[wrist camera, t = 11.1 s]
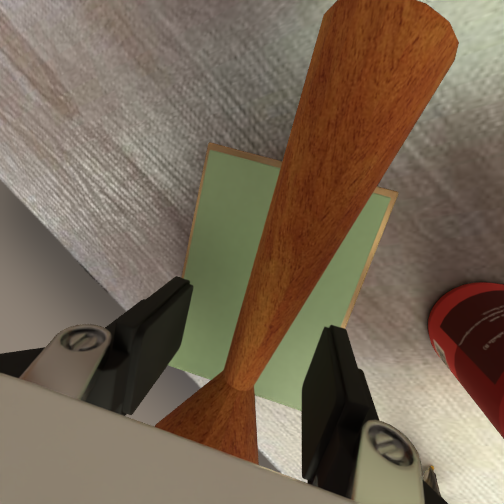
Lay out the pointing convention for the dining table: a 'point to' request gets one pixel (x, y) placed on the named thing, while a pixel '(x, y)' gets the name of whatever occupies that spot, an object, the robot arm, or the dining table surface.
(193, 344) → the sage block
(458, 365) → the canned food
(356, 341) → the dining table surface
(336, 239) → the purple wooden maraca
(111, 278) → the dining table surface
